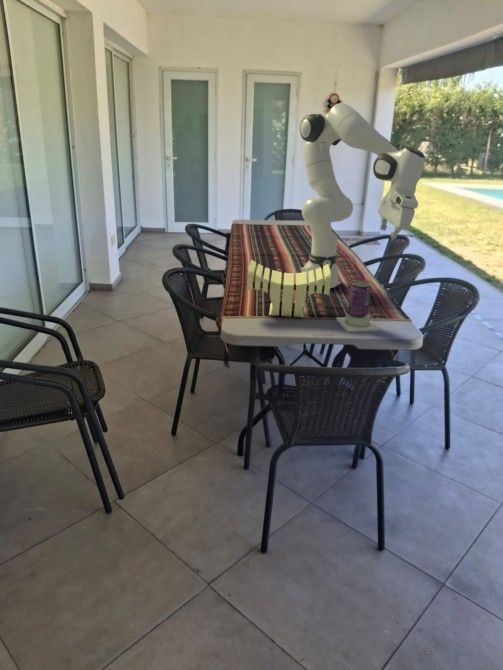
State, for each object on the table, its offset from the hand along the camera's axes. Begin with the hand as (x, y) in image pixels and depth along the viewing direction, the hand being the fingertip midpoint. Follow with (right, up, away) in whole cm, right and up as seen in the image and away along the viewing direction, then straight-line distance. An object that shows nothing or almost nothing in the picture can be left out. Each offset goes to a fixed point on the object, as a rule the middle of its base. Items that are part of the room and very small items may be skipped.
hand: (387, 233), depth 180 cm
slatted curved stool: (-37, -29, +9) cm, 48 cm away
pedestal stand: (-12, -34, -1) cm, 36 cm away
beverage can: (-12, -30, -2) cm, 33 cm away
